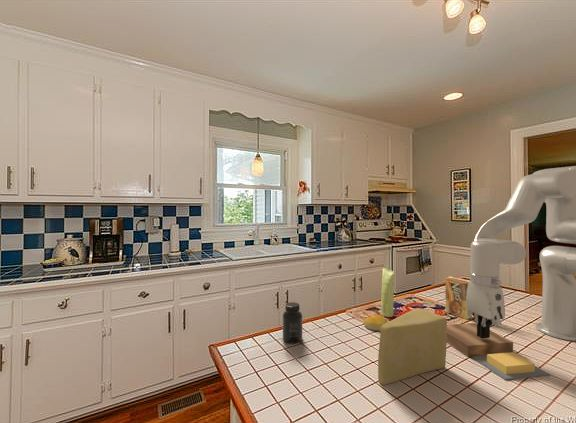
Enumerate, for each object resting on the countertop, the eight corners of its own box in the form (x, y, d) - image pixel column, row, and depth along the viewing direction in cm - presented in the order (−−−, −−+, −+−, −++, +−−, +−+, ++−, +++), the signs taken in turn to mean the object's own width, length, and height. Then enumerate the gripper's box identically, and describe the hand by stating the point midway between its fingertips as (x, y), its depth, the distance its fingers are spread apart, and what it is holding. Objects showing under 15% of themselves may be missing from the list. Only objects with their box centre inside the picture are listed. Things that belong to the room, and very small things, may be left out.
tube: (396, 314, 114) (396, 268, 114) (393, 318, 110) (394, 271, 109) (382, 311, 117) (382, 267, 117) (379, 315, 113) (379, 269, 112)
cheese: (396, 396, 65) (396, 335, 65) (365, 374, 74) (366, 320, 73) (447, 368, 76) (448, 316, 76) (416, 352, 85) (417, 305, 84)
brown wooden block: (475, 332, 98) (475, 322, 98) (512, 353, 84) (513, 342, 84) (435, 335, 96) (435, 325, 96) (467, 357, 82) (468, 345, 82)
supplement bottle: (305, 336, 95) (305, 302, 94) (297, 345, 88) (298, 309, 88) (287, 332, 97) (287, 299, 97) (279, 341, 91) (279, 306, 91)
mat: (511, 354, 84) (511, 352, 84) (549, 375, 73) (549, 373, 73) (471, 357, 82) (471, 356, 82) (505, 380, 71) (505, 378, 71)
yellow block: (534, 363, 74) (534, 371, 74) (513, 352, 80) (513, 359, 80) (506, 366, 73) (505, 374, 73) (486, 354, 79) (486, 361, 79)
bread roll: (359, 325, 104) (359, 315, 104) (375, 320, 109) (375, 310, 109) (376, 334, 97) (376, 323, 97) (392, 328, 102) (392, 317, 102)
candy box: (472, 317, 111) (472, 280, 111) (467, 319, 109) (467, 282, 109) (449, 310, 119) (450, 276, 118) (444, 312, 116) (445, 277, 116)
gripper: (518, 286, 79) (516, 348, 79) (474, 273, 93) (473, 325, 94) (496, 287, 77) (495, 350, 78) (455, 274, 92) (454, 327, 93)
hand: (483, 336), depth 86 cm, fingers closed
